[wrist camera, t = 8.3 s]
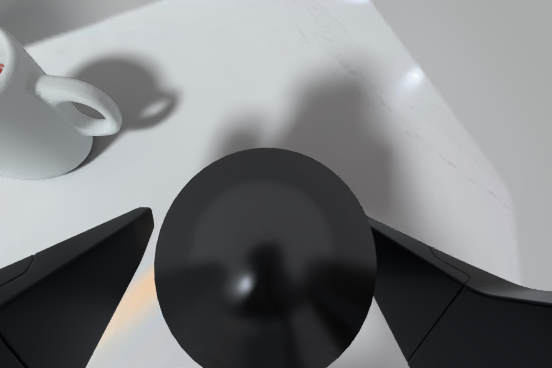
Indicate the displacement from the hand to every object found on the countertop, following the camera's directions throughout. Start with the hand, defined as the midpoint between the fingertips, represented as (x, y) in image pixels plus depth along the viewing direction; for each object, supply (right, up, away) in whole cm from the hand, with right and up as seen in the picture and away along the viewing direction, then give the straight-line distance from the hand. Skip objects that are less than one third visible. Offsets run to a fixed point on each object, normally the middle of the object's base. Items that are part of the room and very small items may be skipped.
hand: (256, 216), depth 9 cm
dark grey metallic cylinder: (-2, -4, +7) cm, 8 cm away
